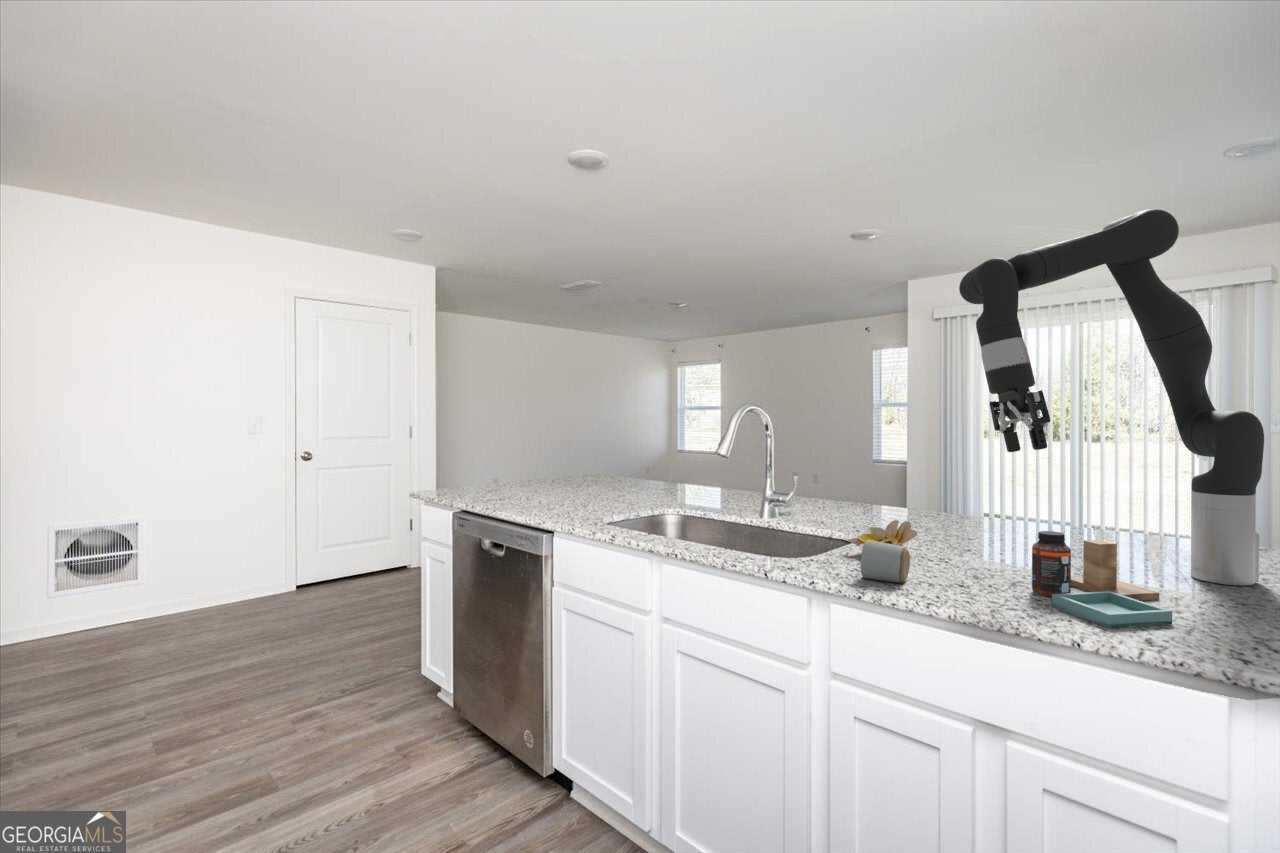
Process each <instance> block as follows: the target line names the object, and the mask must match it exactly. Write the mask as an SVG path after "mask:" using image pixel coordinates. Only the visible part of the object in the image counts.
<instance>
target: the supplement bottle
mask: <svg viewBox="0 0 1280 853" xmlns="http://www.w3.org/2000/svg"><path fill="white" fill-rule="evenodd" d="M1037 538H1038V541H1037V542H1034V543H1033V544H1032V548H1031V589H1032V591H1033V593H1035V594H1037V595H1039V596H1042V595H1043V596H1042V597H1047V596H1048V597H1049V598H1052V594H1064V593H1072V592H1071V590H1072V586H1071V577H1072V567H1071V566H1072V550H1071V547H1069V545H1067V544H1066V542H1065V538H1066V537H1065V533H1064V532H1061V531H1060V532H1059V531H1054V530H1053V531H1052V530H1051V531H1050V530H1041V531H1038V537H1037Z"/></svg>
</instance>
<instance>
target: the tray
mask: <svg viewBox="0 0 1280 853" xmlns="http://www.w3.org/2000/svg"><path fill="white" fill-rule="evenodd" d="M1052 606H1053V607H1052ZM1051 607H1052V608H1055V609H1058V610H1061V611H1064V612H1066V613H1069V614H1071V615H1074V616H1076V617H1078V616H1079V618H1081V617H1082V618H1081V619H1083V620H1086V619H1087V621H1089V620H1090V622H1091V621H1093V622H1092V623H1094V622H1095V623H1094V624H1097V623H1098V624H1097V625H1099V624H1100V625H1099V626H1102V627H1105V628H1107V629H1116V628H1117V629H1120V628H1119V627H1123V628H1130V627H1129V626H1139V627H1152V626H1153V625H1155V626H1169V625H1168V624H1171V625H1173V610H1170V609H1167V608H1164V607H1161V606H1158V605H1155V604H1152V603H1147V602H1145V601H1143V600H1140V601H1139V600H1136V599H1133V598H1129V597H1126V596H1123V595H1120V594H1117V593H1114V592H1111V591H1102V592H1088V591H1085V592H1071V593H1064V594H1052V597H1051ZM1153 627H1154V626H1153Z"/></svg>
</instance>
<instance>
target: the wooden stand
mask: <svg viewBox="0 0 1280 853" xmlns="http://www.w3.org/2000/svg"><path fill="white" fill-rule="evenodd" d="M1117 550H1118V544H1117V543H1116V542H1111V541H1109V540H1108V541H1106V540H1104V539H1103V540H1102V539H1091V540H1090V539H1088V540H1086V539H1083V550H1082V551H1083V555H1082V556H1083V558H1082V560H1083V562H1082V564H1083V569H1082V571H1083V572H1082V575H1083V576H1081V575H1080V576H1079V575H1078V576H1071V587H1073V586H1074V587H1073V588H1076V587H1077V589H1079V588H1080V590H1082V589H1084V590H1083V591H1085V590H1087V591H1086V592H1088V591H1090V592H1102V591H1111V592H1114V593H1117V594H1120V595H1123V596H1126V597H1129V598H1133V599H1136V600H1140V601H1155V600H1154V599H1159V600H1160V592H1158V591H1154V590H1151V589H1148V588H1145V587H1142V586H1141V587H1140V586H1138V585H1134V584H1131V583H1127V582H1124V581H1120V580H1117V577H1118V575H1117V574H1118V572H1117V571H1118V569H1117V567H1118V565H1117V564H1118V558H1117V557H1118V556H1117V555H1118V551H1117Z"/></svg>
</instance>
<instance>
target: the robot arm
mask: <svg viewBox="0 0 1280 853" xmlns="http://www.w3.org/2000/svg"><path fill="white" fill-rule="evenodd" d="M1179 228H1180V227H1179V223H1178V221H1177V219H1176V218H1175V216H1174V215H1173V214H1172V213H1170V212H1168V211H1166V210H1163V209H1159V208H1151V209H1149V208H1148V209H1145V210H1140V211H1138V212H1134V213H1133V214H1130V215H1127V216H1124V217H1122V218H1120V219H1117V220H1115V221H1112V222H1110V223H1108V224H1107V225H1105V226H1104V227H1103V228H1102V230H1099V231H1097V232H1093V233H1090V234H1086V235H1081V236H1079V237H1074V238H1070V239H1067V240H1063V241H1059V242H1054V243H1052V244H1051V243H1050V244H1048V245H1043V246H1041V247H1036V248H1034V249H1029V250H1027V251H1024V252H1022V253H1018V254H1016V255H1014V256H1012V257H1011V258H1009V259H1004V258H1001V257H992V258H989V259H986V261H984V262H982V263H981V264H978V265H977V266H975V267H974V268H973V269H971V270H969V271H968V272H967V273H965V275H964V276H963V277H962V278H961V280H960V282H959V287H958V288H959V289H958V290H959V293H960V294H959V295H960V296H961V298H962V299H963V300H965V301H966V302H967V303H969V304H973V305H982V313H981V314H980V315H979V317H978V318H977V319H976V321H975V327H976V333H977V337H978V341H979V346H980V351H981V359H982V364H983V369H984V374H985V378H986V379H985V380H986V382H987V387H988V390H989V391H988V392H989V393H990V394H991V395H997V396H998V397H997V398H998V399H994V400H991V401H989V408H990V413H991V417H992V423H993V428H994V431H995V432H999V433H1000V434H1003V439H1004V443H1005V448H1006V451H1007V453H1014V452H1020V451H1021V445H1020V441H1019V436H1018V431H1017V426H1018V425H1017V424H1018V422H1019V423H1020V422H1023V423H1024V424H1025V425H1026V427H1027V428H1028V433H1029V438H1030V441H1031V442H1030V443H1031V447H1032V449H1033V451H1038V450H1044V449H1047V448H1048V443H1047V438H1046V434H1045V431H1044V430H1045V429H1044V427H1046V424H1048V423H1049V424H1050V422H1051V417H1050V413H1049V410H1048V406H1047V403H1046V399H1045V395H1044V392H1043V390H1042V389H1037V390H1032V391H1031V390H1030V388H1032V387H1034V386H1035V385H1036V380H1035V376H1034V372H1033V368H1032V364H1031V360H1030V356H1029V351H1028V348H1027V344H1026V343H1025V341H1024V337H1023V334H1022V329H1021V325H1020V322H1019V318H1018V311H1019V292H1020V291H1024V290H1028V289H1032V288H1036V287H1040V286H1043V285H1047V284H1050V283H1053V282H1057V281H1060V280H1062V279H1063V280H1064V279H1066V278H1068V277H1071V276H1074V275H1076V274H1080V273H1081V272H1082V273H1083V272H1086V271H1088V270H1090V269H1094V268H1097V267H1099V266H1103V265H1106V267H1107V269H1108V270H1109V272H1110V273H1111V275H1112V277H1113V278H1114V280H1115V282H1116V284H1117V286H1118V287H1119V288H1120V291H1121V293H1122V294H1123V295H1124V297H1125V300H1126V302H1127V305H1128V306H1129V309H1130V310H1131V313H1132V315H1133V317H1134V320H1135V322H1136V323H1137V325H1138V327H1139V330H1140V332H1141V335H1142V339H1143V341H1144V343H1145V345H1146V347H1147V350H1148V353H1149V354H1150V357H1151V358H1152V360H1153V362H1154V365H1155V367H1156V369H1157V371H1158V373H1159V376H1160V379H1161V381H1162V384H1163V386H1164V389H1165V391H1166V395H1167V397H1168V399H1169V402H1170V403H1169V404H1170V406H1171V411H1172V413H1173V417H1174V420H1175V424H1176V427H1177V432H1178V433H1179V436H1180V439H1181V441H1182V443H1183V444H1184V446H1185V448H1186V449H1187V450H1188V451H1189V452H1190V453H1192V454H1194V455H1196V456H1200V457H1206V458H1208V457H1209V458H1213V464H1212V468H1211V469H1209V470H1208V471H1207V472H1205V473H1201V474H1198V475H1195V476H1193V477H1192V478H1191V479H1192V480H1191V491H1190V492H1191V493H1190V494H1191V502H1190V503H1191V508H1190V509H1191V510H1190V512H1191V514H1190V515H1191V516H1190V519H1191V520H1190V524H1191V525H1190V576H1191V578H1193V579H1197V580H1200V581H1205V582H1209V583H1213V584H1214V583H1215V584H1221V585H1230V586H1253V585H1255V583H1259V582H1260V580H1259V579H1260V534H1259V533H1258V532H1256V530H1257V529H1256V528H1257V526H1256V521H1257V520H1256V519H1257V516H1256V515H1257V512H1256V511H1257V507H1256V506H1257V505H1256V504H1257V486H1258V484H1259V482H1260V480H1261V478H1262V473H1263V459H1264V449H1265V432H1264V431H1265V430H1264V427H1263V424H1262V423H1261V420H1260V419H1259V418H1258V417H1257V415H1255V414H1253V413H1251V412H1249V411H1246V410H1245V411H1243V410H1216V408H1215V406H1214V404H1213V403H1212V401H1211V399H1210V396H1209V394H1208V389H1207V385H1206V376H1207V372H1208V369H1209V366H1210V362H1211V358H1212V353H1213V344H1212V343H1213V342H1212V340H1211V337H1210V334H1209V332H1208V329H1207V327H1206V325H1205V323H1204V320H1203V318H1202V316H1201V313H1199V311H1198V310H1197V309H1196V308H1195V307H1194V306H1193V305H1192V304H1191V303H1189V301H1187V300H1186V299H1184V297H1182V296H1180V295H1179V294H1178V293H1176V292H1175V291H1173V289H1171V288H1170V287H1169V286H1167V285H1166V284H1165V283H1164V282H1163V281H1162V280H1161V279H1160V277H1159V276H1158V274H1157V273H1156V270H1155V269H1154V266H1153V264H1152V263H1151V262H1152V261H1151V259H1154V258H1157V257H1160V256H1162V255H1163V254H1165V253H1167V252H1168V251H1169V250H1170V249H1171V248H1173V246H1174V245H1175V244H1176V242H1177V240H1178V237H1179V235H1180V234H1179V231H1180V230H1179ZM1040 415H1041V416H1040Z"/></svg>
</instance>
